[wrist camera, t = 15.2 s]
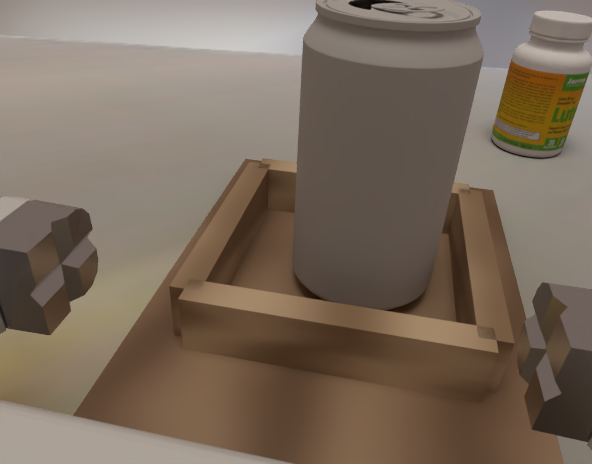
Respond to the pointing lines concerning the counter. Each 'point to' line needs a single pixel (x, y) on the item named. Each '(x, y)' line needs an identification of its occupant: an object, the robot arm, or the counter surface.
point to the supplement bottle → (544, 85)
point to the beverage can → (380, 144)
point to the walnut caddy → (327, 347)
